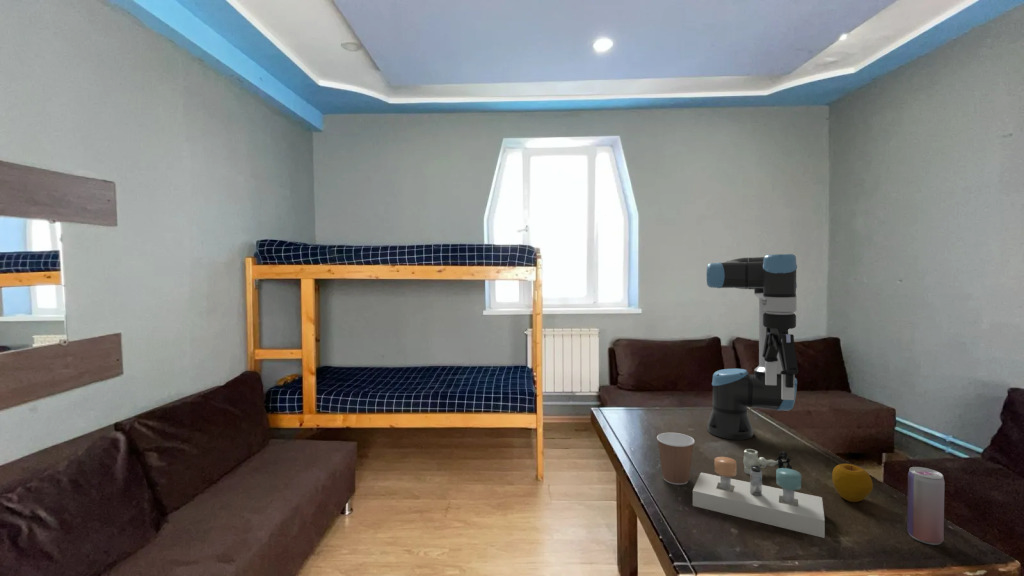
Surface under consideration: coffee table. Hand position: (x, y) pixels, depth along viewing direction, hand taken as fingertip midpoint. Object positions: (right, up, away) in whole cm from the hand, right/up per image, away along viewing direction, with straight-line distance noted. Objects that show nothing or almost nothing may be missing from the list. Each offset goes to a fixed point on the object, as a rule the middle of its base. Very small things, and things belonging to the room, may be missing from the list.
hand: (778, 391), depth 121 cm
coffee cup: (-24, -28, +11) cm, 38 cm away
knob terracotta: (-16, -24, -3) cm, 29 cm away
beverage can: (+21, -28, -20) cm, 40 cm away
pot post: (-10, -24, -6) cm, 27 cm away
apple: (+18, -28, -2) cm, 33 cm away
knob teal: (-4, -24, -10) cm, 27 cm away
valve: (+4, -28, +14) cm, 31 cm away
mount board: (-10, -28, -6) cm, 30 cm away
